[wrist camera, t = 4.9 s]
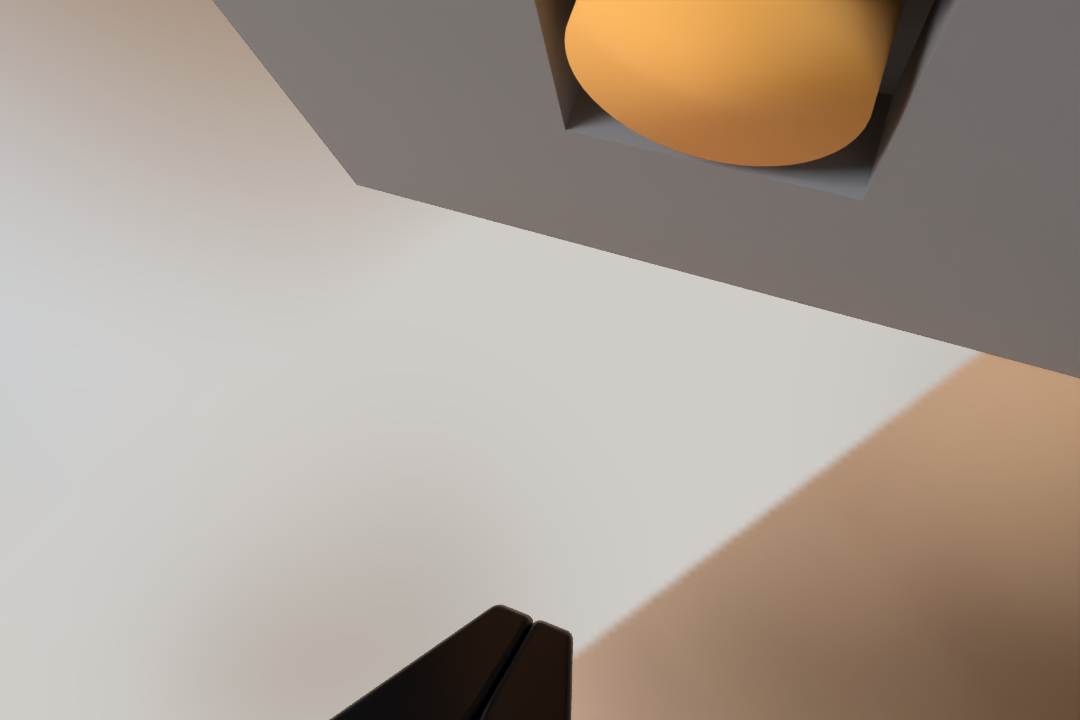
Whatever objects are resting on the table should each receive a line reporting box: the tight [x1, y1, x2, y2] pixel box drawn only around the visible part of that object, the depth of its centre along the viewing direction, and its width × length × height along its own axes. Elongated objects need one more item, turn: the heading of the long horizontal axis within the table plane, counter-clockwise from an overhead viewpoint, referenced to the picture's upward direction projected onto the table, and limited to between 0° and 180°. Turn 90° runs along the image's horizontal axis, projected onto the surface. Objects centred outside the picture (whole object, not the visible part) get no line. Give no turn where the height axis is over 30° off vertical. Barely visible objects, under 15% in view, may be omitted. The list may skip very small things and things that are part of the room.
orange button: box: [565, 0, 904, 166], centre depth 12 cm, size 2×4×4 cm, turn 70°
